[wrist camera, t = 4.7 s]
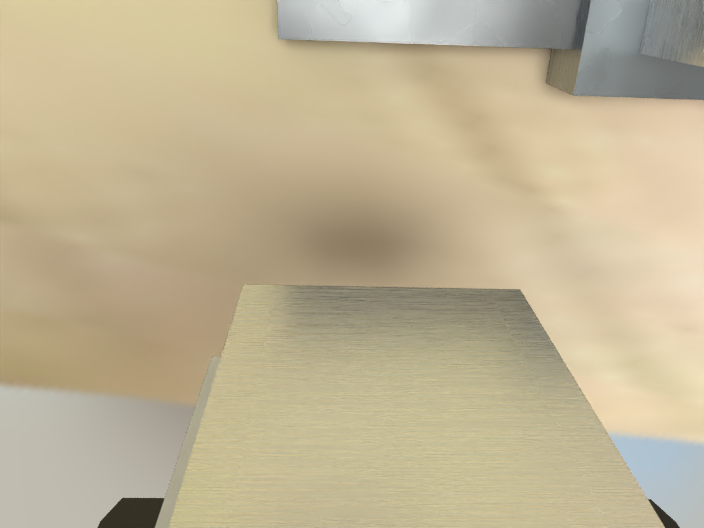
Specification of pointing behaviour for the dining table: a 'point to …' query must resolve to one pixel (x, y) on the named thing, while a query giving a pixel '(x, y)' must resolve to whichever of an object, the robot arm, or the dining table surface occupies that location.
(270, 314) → the socket
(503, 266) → the dining table surface
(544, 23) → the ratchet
